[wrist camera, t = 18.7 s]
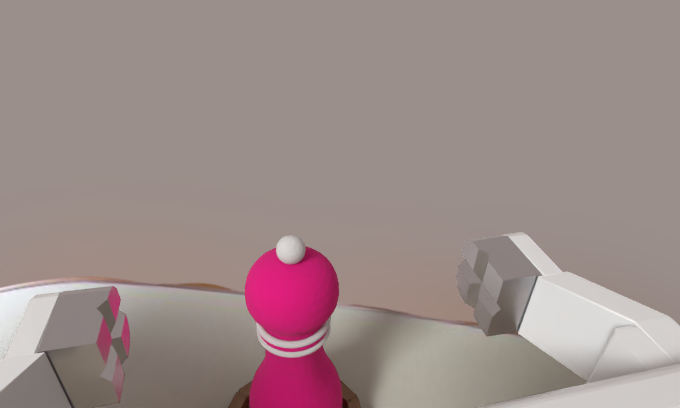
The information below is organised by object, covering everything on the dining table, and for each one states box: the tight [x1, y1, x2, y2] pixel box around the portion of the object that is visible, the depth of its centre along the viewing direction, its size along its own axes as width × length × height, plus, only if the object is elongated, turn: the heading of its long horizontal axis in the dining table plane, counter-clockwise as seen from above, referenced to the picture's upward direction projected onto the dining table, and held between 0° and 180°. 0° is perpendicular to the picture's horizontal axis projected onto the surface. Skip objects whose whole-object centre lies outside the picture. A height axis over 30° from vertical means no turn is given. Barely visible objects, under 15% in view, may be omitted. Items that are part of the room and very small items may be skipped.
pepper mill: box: [245, 235, 342, 408], centre depth 33 cm, size 7×7×20 cm
